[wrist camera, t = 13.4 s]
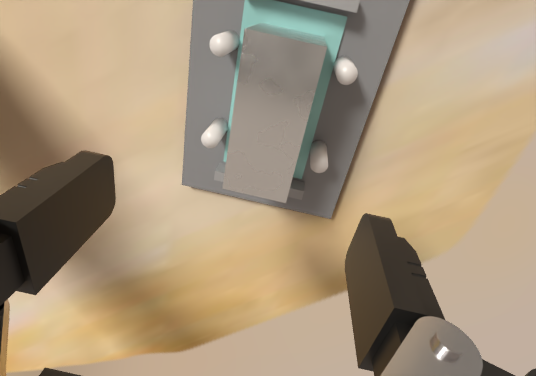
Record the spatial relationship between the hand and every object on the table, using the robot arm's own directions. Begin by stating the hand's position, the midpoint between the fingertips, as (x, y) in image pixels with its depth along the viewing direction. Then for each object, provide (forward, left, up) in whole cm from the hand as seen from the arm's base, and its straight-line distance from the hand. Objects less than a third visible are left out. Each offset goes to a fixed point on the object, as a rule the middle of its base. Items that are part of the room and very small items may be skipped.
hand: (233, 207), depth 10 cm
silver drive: (0, 0, -14) cm, 14 cm away
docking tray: (0, 0, -16) cm, 16 cm away
